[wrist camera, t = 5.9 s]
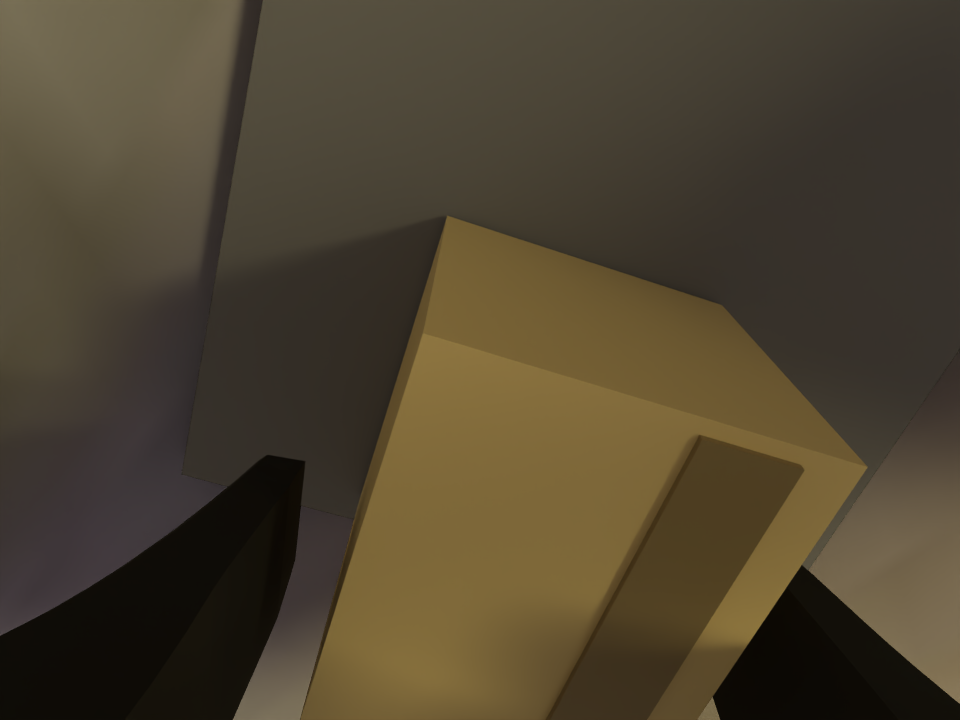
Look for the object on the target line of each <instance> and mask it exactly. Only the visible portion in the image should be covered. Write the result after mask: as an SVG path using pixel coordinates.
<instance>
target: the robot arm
mask: <svg viewBox="0 0 960 720" xmlns="http://www.w3.org/2000/svg"><path fill="white" fill-rule="evenodd" d="M305 462H306V461H302V460H296V459H290V458H284V457H279V456H273V455H266V456H264V457H263V458H261V459H260V460H258V461H257V462H256V463H255V464H254V465H253V466H252V467H250V468H249V469H248V470H247V471H246V472H245V473H244V474H242V475H241V476H240V477H239V478H238V479H237V480H236V481H234V482H233V483H232V484H231V485H230V486H228V487H227V488H226V489H225V490H224V491H222V492H221V493H220V494H219V495H218V496H216V497H215V498H214V499H213V500H212V501H210V502H209V503H208V504H207V505H205V506H204V507H203V508H201V509H200V510H199V511H198V512H196V513H195V514H194V515H193V516H191V517H190V518H189V519H187V520H186V521H185V522H184V523H182V524H181V525H180V526H178V527H177V528H176V529H175V530H173V531H172V532H170V533H169V534H168V535H166V536H165V537H164V538H162V539H161V540H159V541H158V542H156V543H155V544H154V545H152V546H151V547H149V548H148V549H146V550H145V551H144V552H142V553H141V554H139V555H138V556H136V557H135V558H134V559H132V560H131V561H129V562H128V563H126V564H125V565H123V566H122V567H120V568H119V569H117V570H116V571H114V572H113V573H111V574H110V575H108V576H106V577H105V578H103V579H102V580H100V581H99V582H97V583H95V584H94V585H92V586H91V587H89V588H87V589H86V590H84V591H82V592H81V593H79V594H77V595H75V596H74V597H72V598H70V599H69V600H67V601H65V602H64V603H62V604H60V605H58V606H57V607H55V608H53V609H51V610H50V611H48V612H46V613H44V614H42V615H40V616H38V617H36V618H35V619H33V620H31V621H29V622H27V623H25V624H23V625H21V626H19V627H17V628H15V629H13V630H11V631H9V632H7V633H5V634H3V635H1V636H0V720H233V718H234V716H235V713H236V711H237V709H238V707H239V704H240V702H241V700H242V697H243V695H244V693H245V691H246V688H247V686H248V684H249V682H250V679H251V677H252V675H253V673H254V670H255V668H256V666H257V663H258V661H259V659H260V657H261V654H262V652H263V650H264V647H265V645H266V643H267V640H268V638H269V636H270V634H271V631H272V629H273V627H274V624H275V622H276V620H277V617H278V614H279V611H280V608H281V604H282V601H283V598H284V595H285V592H286V588H287V585H288V582H289V579H290V575H291V572H292V569H293V565H294V562H295V556H296V547H297V537H298V528H299V518H300V509H301V500H302V490H303V481H304V471H305ZM713 699H714V702H715V705H716V708H717V711H718V714H719V717H720V720H960V704H959V703H958V702H957V701H955V700H954V699H953V698H952V697H950V696H949V695H948V694H947V693H946V692H945V691H943V690H942V689H941V688H940V687H939V686H937V685H936V684H935V683H934V682H933V681H931V680H930V679H929V678H928V677H927V676H925V675H924V674H923V673H922V672H921V671H919V670H918V669H917V668H916V667H915V666H913V665H912V664H911V663H910V662H909V661H908V660H907V659H905V658H904V657H903V656H902V655H901V654H900V653H899V652H897V651H896V650H895V649H894V648H893V647H892V646H890V645H889V644H888V643H887V642H886V641H885V640H884V639H883V638H882V637H880V636H879V635H878V634H877V633H876V632H875V631H874V630H873V629H872V628H870V627H869V626H868V625H867V624H866V623H865V622H864V621H863V620H862V619H860V618H859V617H858V616H857V615H856V614H855V613H854V612H853V611H852V610H851V609H850V608H848V607H847V606H846V605H845V604H844V603H843V602H842V601H841V600H840V599H839V598H838V597H837V596H835V595H834V594H833V593H832V592H831V591H830V590H829V589H828V588H827V587H826V586H825V585H823V584H822V583H821V582H820V581H819V580H818V579H817V578H816V577H815V576H814V575H813V574H811V573H810V572H809V571H808V570H807V569H806V568H805V567H804V566H803V565H801V567H800V568H799V570H798V571H797V573H796V574H795V576H794V577H793V578H792V580H791V581H790V583H789V584H788V586H787V587H786V589H785V590H784V592H783V593H782V595H781V596H780V598H779V599H778V601H777V602H776V604H775V605H774V607H773V608H772V610H771V611H770V612H769V614H768V615H767V617H766V618H765V620H764V621H763V623H762V624H761V626H760V627H759V629H758V630H757V632H756V633H755V635H754V636H753V638H752V639H751V641H750V642H749V644H748V645H747V646H746V648H745V649H744V651H743V652H742V654H741V655H740V657H739V658H738V660H737V661H736V663H735V664H734V666H733V667H732V669H731V670H730V672H729V673H728V675H727V676H726V678H725V679H724V680H723V682H722V683H721V685H720V686H719V688H718V689H717V691H716V692H715V694H714V695H713Z"/></svg>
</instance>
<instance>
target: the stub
mask: <svg viewBox="0 0 960 720" xmlns="http://www.w3.org/2000/svg"><path fill="white" fill-rule="evenodd" d="M867 468H868V467H867V466H866V464H865V463H864V462H863V461H862V460H861V459H860V458H859V457H858V456H857V454H856V453H855V452H854V451H853V450H852V449H851V448H850V447H849V446H848V445H847V443H846V442H845V441H844V440H843V439H842V438H841V437H840V436H839V435H838V433H837V432H836V431H835V430H834V429H833V428H832V427H831V426H830V425H829V423H828V422H827V421H826V420H825V419H824V418H823V417H822V416H821V415H820V413H819V412H818V411H817V410H816V409H815V408H814V407H813V406H812V405H811V403H810V402H809V401H808V400H807V399H806V398H805V397H804V396H803V395H802V393H801V392H800V391H799V390H798V389H797V388H796V387H795V386H794V385H793V383H792V382H791V381H790V380H789V379H788V378H787V377H786V376H785V375H784V373H783V372H782V371H781V370H780V369H779V368H778V367H777V366H776V365H775V363H774V362H773V361H772V360H771V359H770V358H769V357H768V356H767V355H766V353H765V352H764V351H763V350H762V349H761V348H760V347H759V346H758V345H757V343H756V342H755V341H754V340H753V339H752V338H751V337H750V336H749V335H748V333H747V332H746V331H745V330H744V329H743V328H742V327H741V326H740V325H739V323H738V322H737V321H736V320H735V319H734V318H733V317H732V316H731V315H730V313H729V312H728V311H727V310H726V309H725V308H724V307H723V306H722V305H720V304H717V303H714V302H711V301H708V300H705V299H702V298H699V297H696V296H692V295H689V294H686V293H683V292H680V291H677V290H674V289H671V288H668V287H665V286H662V285H659V284H656V283H653V282H649V281H646V280H643V279H640V278H637V277H634V276H631V275H628V274H625V273H622V272H619V271H616V270H613V269H610V268H606V267H603V266H600V265H597V264H594V263H591V262H588V261H585V260H582V259H579V258H576V257H573V256H570V255H567V254H563V253H560V252H557V251H554V250H551V249H548V248H545V247H542V246H539V245H536V244H533V243H530V242H527V241H524V240H520V239H517V238H514V237H511V236H508V235H505V234H502V233H499V232H496V231H493V230H490V229H487V228H484V227H480V226H477V225H474V224H471V223H468V222H465V221H462V220H459V219H456V218H453V217H450V216H447V218H446V222H445V225H444V228H443V231H442V234H441V238H440V241H439V244H438V247H437V251H436V254H435V257H434V260H433V264H432V267H431V270H430V273H429V277H428V280H427V283H426V286H425V289H424V293H423V296H422V299H421V302H420V306H419V309H418V312H417V315H416V319H415V322H414V325H413V328H412V331H411V335H410V338H409V341H408V344H407V348H406V351H405V354H404V357H403V361H402V364H401V367H400V370H399V373H398V377H397V380H396V383H395V386H394V390H393V393H392V396H391V399H390V403H389V406H388V409H387V412H386V416H385V419H384V422H383V425H382V428H381V432H380V435H379V438H378V441H377V445H376V448H375V451H374V454H373V458H372V461H371V464H370V467H369V470H368V474H367V477H366V480H365V483H364V487H363V490H362V493H361V496H360V500H359V503H358V507H357V511H356V514H355V518H354V522H353V525H352V529H351V533H350V537H349V540H348V544H347V548H346V551H345V555H344V559H343V563H342V566H341V570H340V574H339V577H338V581H337V585H336V588H335V592H334V596H333V600H332V603H331V607H330V611H329V614H328V618H327V622H326V625H325V629H324V633H323V637H322V640H321V644H320V648H319V651H318V655H317V659H316V662H315V666H314V670H313V674H312V677H311V681H310V685H309V688H308V692H307V696H306V700H305V703H304V707H303V711H302V714H301V718H300V720H697V719H698V717H699V716H700V714H701V713H702V712H703V710H704V709H705V707H706V706H707V704H708V703H709V701H710V700H711V698H712V697H713V695H714V694H715V692H716V691H717V689H718V688H719V686H720V685H721V683H722V682H723V680H724V679H725V678H726V676H727V675H728V673H729V672H730V670H731V669H732V667H733V666H734V664H735V663H736V661H737V660H738V658H739V657H740V655H741V654H742V652H743V651H744V649H745V648H746V646H747V645H748V644H749V642H750V641H751V639H752V638H753V636H754V635H755V633H756V632H757V630H758V629H759V627H760V626H761V624H762V623H763V621H764V620H765V618H766V617H767V615H768V614H769V612H770V611H771V610H772V608H773V607H774V605H775V604H776V602H777V601H778V599H779V598H780V596H781V595H782V593H783V592H784V590H785V589H786V587H787V586H788V584H789V583H790V581H791V580H792V578H793V577H794V576H795V574H796V573H797V571H798V570H799V568H800V567H801V565H802V564H803V562H804V561H805V559H806V558H807V556H808V555H809V553H810V552H811V550H812V549H813V547H814V546H815V544H816V543H817V542H818V540H819V539H820V537H821V536H822V534H823V533H824V531H825V530H826V528H827V527H828V525H829V524H830V522H831V521H832V519H833V518H834V516H835V515H836V513H837V512H838V510H839V509H840V508H841V506H842V505H843V503H844V502H845V500H846V499H847V497H848V496H849V494H850V493H851V491H852V490H853V488H854V487H855V485H856V484H857V482H858V481H859V479H860V478H861V476H862V475H863V474H864V472H865V471H866V469H867Z"/></svg>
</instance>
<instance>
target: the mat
mask: <svg viewBox="0 0 960 720" xmlns="http://www.w3.org/2000/svg"><path fill="white" fill-rule="evenodd" d="M447 216H450V217H453V218H456V219H459V220H462V221H465V222H468V223H471V224H474V225H477V226H480V227H484V228H487V229H490V230H493V231H496V232H499V233H502V234H505V235H508V236H511V237H514V238H517V239H520V240H524V241H527V242H530V243H533V244H536V245H539V246H542V247H545V248H548V249H551V250H554V251H557V252H560V253H563V254H567V255H570V256H573V257H576V258H579V259H582V260H585V261H588V262H591V263H594V264H597V265H600V266H603V267H606V268H610V269H613V270H616V271H619V272H622V273H625V274H628V275H631V276H634V277H637V278H640V279H643V280H646V281H649V282H653V283H656V284H659V285H662V286H665V287H668V288H671V289H674V290H677V291H680V292H683V293H686V294H689V295H692V296H696V297H699V298H702V299H705V300H708V301H711V302H714V303H717V304H720V305H722V306H723V307H724V308H725V309H726V310H727V311H728V312H729V313H730V315H731V316H732V317H733V318H734V319H735V320H736V321H737V322H738V323H739V325H740V326H741V327H742V328H743V329H744V330H745V331H746V332H747V333H748V335H749V336H750V337H751V338H752V339H753V340H754V341H755V342H756V343H757V345H758V346H759V347H760V348H761V349H762V350H763V351H764V352H765V353H766V355H767V356H768V357H769V358H770V359H771V360H772V361H773V362H774V363H775V365H776V366H777V367H778V368H779V369H780V370H781V371H782V372H783V373H784V375H785V376H786V377H787V378H788V379H789V380H790V381H791V382H792V383H793V385H794V386H795V387H796V388H797V389H798V390H799V391H800V392H801V393H802V395H803V396H804V397H805V398H806V399H807V400H808V401H809V402H810V403H811V405H812V406H813V407H814V408H815V409H816V410H817V411H818V412H819V413H820V415H821V416H822V417H823V418H824V419H825V420H826V421H827V422H828V423H829V425H830V426H831V427H832V428H833V429H834V430H835V431H836V432H837V433H838V435H839V436H840V437H841V438H842V439H843V440H844V441H845V442H846V443H847V445H848V446H849V447H850V448H851V449H852V450H853V451H854V452H855V453H856V454H857V456H858V457H859V458H860V459H861V460H862V461H863V462H864V463H865V464H866V466H867V467H868V468H867V469H866V471H865V472H864V474H863V475H862V476H861V478H860V479H859V481H858V482H857V484H856V485H855V487H854V488H853V490H852V491H851V493H850V494H849V496H848V497H847V499H846V500H845V502H844V503H843V505H842V506H841V508H840V509H839V510H838V512H837V513H836V515H835V516H834V518H833V519H832V521H831V522H830V524H829V525H828V527H827V528H826V530H825V531H824V533H823V534H822V536H821V537H820V539H819V540H818V542H817V543H816V544H815V546H814V547H813V549H812V550H811V552H810V553H809V555H808V556H807V558H806V559H805V561H804V562H803V564H802V565H803V566H804V567H805V568H806V569H807V570H809V569H810V567H811V566H812V564H813V563H814V561H815V560H816V558H817V557H818V555H819V554H820V552H821V551H822V550H823V548H824V547H825V545H826V544H827V542H828V541H829V539H830V538H831V536H832V535H833V533H834V532H835V531H836V529H837V528H838V526H839V525H840V523H841V522H842V520H843V519H844V517H845V516H846V514H847V513H848V512H849V510H850V509H851V507H852V506H853V504H854V503H855V501H856V500H857V498H858V497H859V495H860V494H861V493H862V491H863V490H864V488H865V487H866V485H867V484H868V482H869V481H870V479H871V478H872V477H873V475H874V474H875V472H876V471H877V469H878V468H879V466H880V465H881V463H882V462H883V460H884V459H885V458H886V456H887V455H888V453H889V452H890V450H891V449H892V447H893V446H894V444H895V443H896V441H897V440H898V439H899V437H900V436H901V434H902V433H903V431H904V430H905V428H906V427H907V425H908V424H909V422H910V421H911V420H912V418H913V417H914V415H915V414H916V412H917V411H918V409H919V408H920V406H921V405H922V403H923V402H924V401H925V399H926V398H927V396H928V395H929V393H930V392H931V390H932V389H933V387H934V386H935V384H936V383H937V382H938V380H939V379H940V377H941V376H942V374H943V373H944V371H945V370H946V368H947V367H948V366H949V364H950V363H951V361H952V360H953V358H954V357H955V355H956V354H957V352H958V351H959V349H960V0H263V3H262V9H261V14H260V20H259V26H258V32H257V38H256V44H255V49H254V55H253V61H252V67H251V73H250V78H249V84H248V90H247V96H246V102H245V108H244V113H243V119H242V125H241V131H240V137H239V143H238V148H237V154H236V160H235V166H234V172H233V177H232V183H231V189H230V195H229V201H228V207H227V212H226V218H225V224H224V230H223V236H222V241H221V247H220V253H219V259H218V265H217V271H216V276H215V282H214V288H213V294H212V300H211V306H210V311H209V317H208V323H207V329H206V335H205V340H204V346H203V352H202V358H201V364H200V370H199V375H198V381H197V387H196V393H195V399H194V404H193V410H192V416H191V422H190V428H189V434H188V439H187V445H186V451H185V457H184V463H183V469H182V475H186V476H190V477H194V478H197V479H201V480H205V481H209V482H213V483H216V484H220V485H224V486H230V485H231V484H232V483H233V482H234V481H236V480H237V479H238V478H239V477H240V476H241V475H242V474H244V473H245V472H246V471H247V470H248V469H249V468H250V467H252V466H253V465H254V464H255V463H256V462H257V461H258V460H260V459H261V458H263V457H264V456H266V455H273V456H279V457H284V458H290V459H296V460H302V461H306V462H305V471H304V481H303V490H302V500H301V506H304V507H308V508H312V509H316V510H320V511H324V512H327V513H331V514H335V515H339V516H343V517H346V518H350V519H354V518H355V514H356V511H357V507H358V503H359V500H360V496H361V493H362V490H363V487H364V483H365V480H366V477H367V474H368V470H369V467H370V464H371V461H372V458H373V454H374V451H375V448H376V445H377V441H378V438H379V435H380V432H381V428H382V425H383V422H384V419H385V416H386V412H387V409H388V406H389V403H390V399H391V396H392V393H393V390H394V386H395V383H396V380H397V377H398V373H399V370H400V367H401V364H402V361H403V357H404V354H405V351H406V348H407V344H408V341H409V338H410V335H411V331H412V328H413V325H414V322H415V319H416V315H417V312H418V309H419V306H420V302H421V299H422V296H423V293H424V289H425V286H426V283H427V280H428V277H429V273H430V270H431V267H432V264H433V260H434V257H435V254H436V251H437V247H438V244H439V241H440V238H441V234H442V231H443V228H444V225H445V222H446V218H447Z"/></svg>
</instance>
